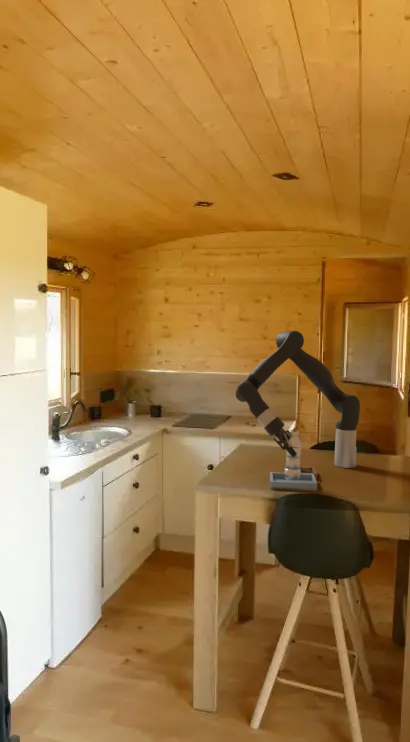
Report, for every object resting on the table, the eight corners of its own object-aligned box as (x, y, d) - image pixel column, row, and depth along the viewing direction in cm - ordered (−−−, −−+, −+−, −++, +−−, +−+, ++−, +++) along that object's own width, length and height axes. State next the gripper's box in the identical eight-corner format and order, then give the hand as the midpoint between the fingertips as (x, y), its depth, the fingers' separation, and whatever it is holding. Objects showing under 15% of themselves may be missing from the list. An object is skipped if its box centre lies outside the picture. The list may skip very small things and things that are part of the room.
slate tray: (313, 481, 233) (313, 474, 233) (317, 491, 219) (317, 483, 219) (269, 479, 235) (270, 472, 234) (270, 489, 221) (270, 481, 220)
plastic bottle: (280, 478, 228) (282, 429, 227) (295, 477, 231) (297, 429, 229) (289, 482, 222) (291, 433, 221) (303, 481, 225) (305, 432, 223)
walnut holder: (313, 472, 247) (314, 467, 246) (316, 480, 235) (316, 474, 235) (283, 471, 248) (284, 465, 248) (285, 478, 236) (285, 472, 236)
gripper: (271, 418, 221) (299, 452, 217) (282, 413, 234) (309, 445, 230) (258, 430, 224) (285, 463, 220) (269, 424, 237) (295, 456, 233)
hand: (297, 453), depth 225 cm, fingers closed on plastic bottle, 6 cm apart
